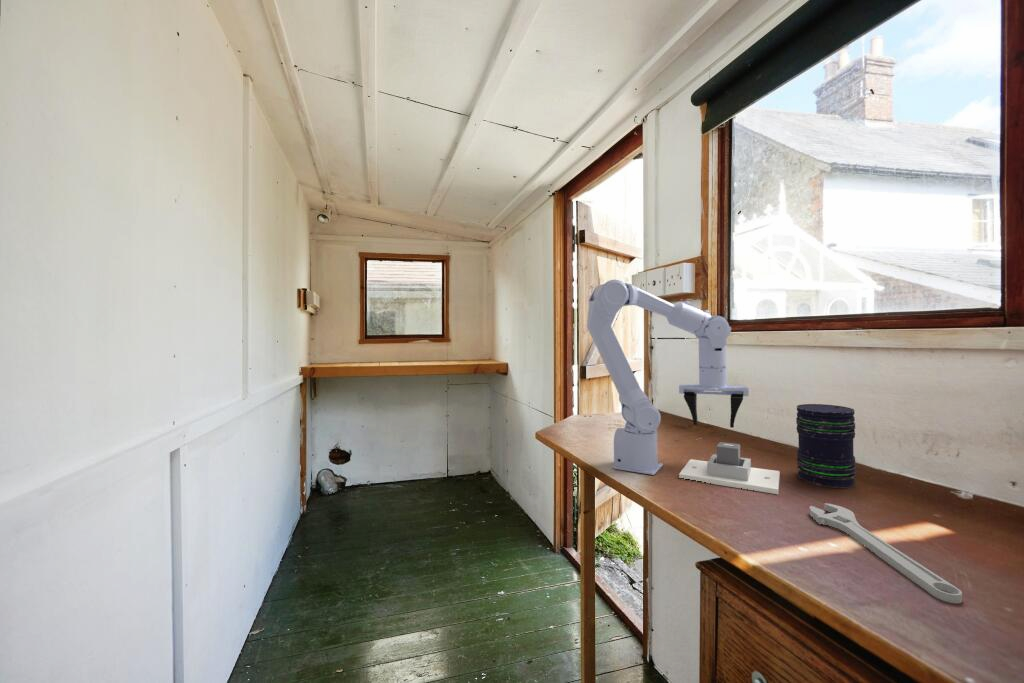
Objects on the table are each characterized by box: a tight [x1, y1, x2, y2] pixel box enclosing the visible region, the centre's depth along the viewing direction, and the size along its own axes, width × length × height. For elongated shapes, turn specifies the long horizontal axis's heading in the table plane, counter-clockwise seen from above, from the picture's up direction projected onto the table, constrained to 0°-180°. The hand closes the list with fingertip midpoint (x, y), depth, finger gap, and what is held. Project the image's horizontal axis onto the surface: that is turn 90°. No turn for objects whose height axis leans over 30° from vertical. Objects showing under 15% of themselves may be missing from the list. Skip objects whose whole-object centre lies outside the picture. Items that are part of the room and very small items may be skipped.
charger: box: [716, 441, 741, 466], centre depth 90 cm, size 4×4×6 cm
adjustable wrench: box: [809, 503, 963, 604], centre depth 61 cm, size 25×6×2 cm, turn 169°
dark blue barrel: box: [795, 403, 857, 489], centre depth 88 cm, size 10×10×15 cm
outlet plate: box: [678, 453, 781, 495], centre depth 90 cm, size 18×12×4 cm, turn 56°
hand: (713, 425), depth 98 cm, fingers open, 7 cm apart
